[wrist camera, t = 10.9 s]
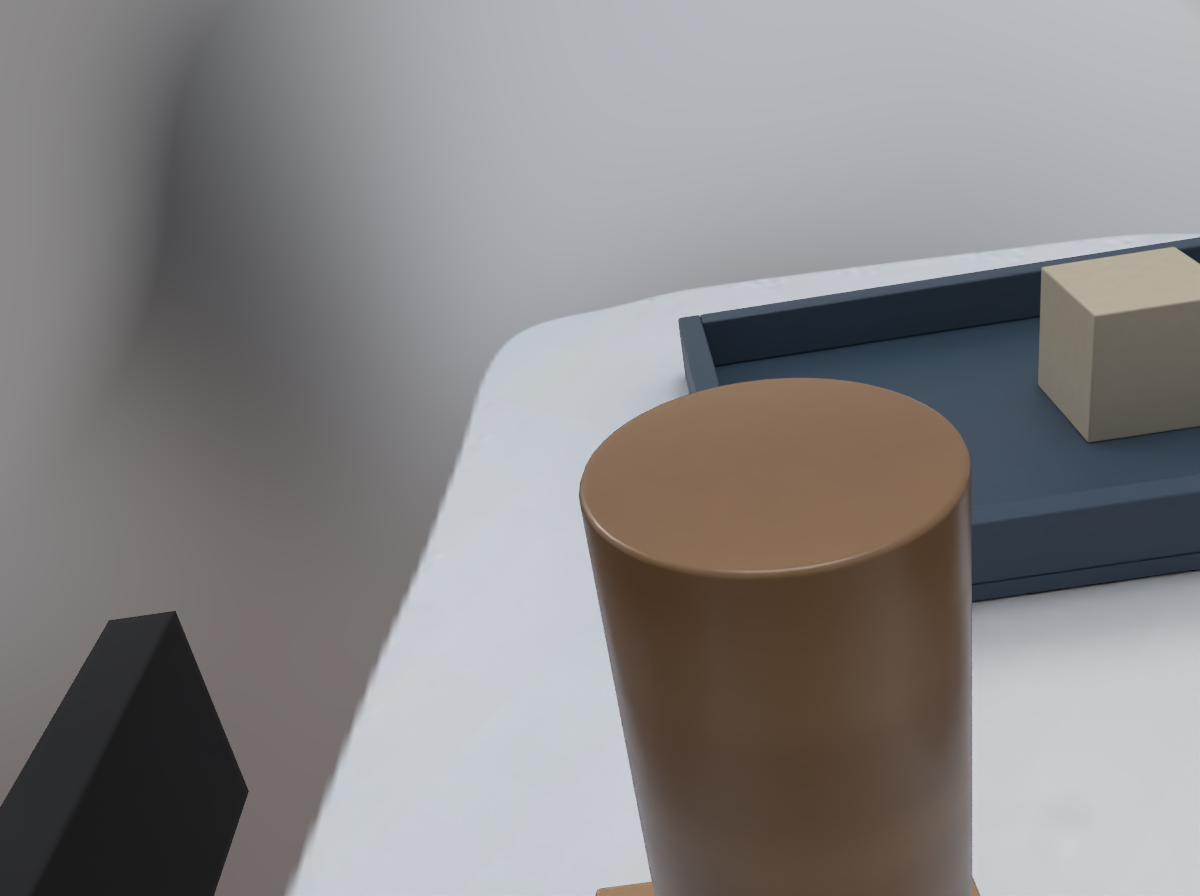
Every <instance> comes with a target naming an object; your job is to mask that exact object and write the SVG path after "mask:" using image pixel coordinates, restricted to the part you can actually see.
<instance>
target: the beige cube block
mask: <svg viewBox="0 0 1200 896" xmlns="http://www.w3.org/2000/svg"><path fill="white" fill-rule="evenodd" d="M1038 385H1039V386H1040V388H1041V389H1042V390H1043V391H1044V392H1045V393H1046V394H1047V396H1048V397H1049V398H1050V399H1051V400H1052V401H1053V403H1054V404H1055V405H1056V406H1057V407H1058V408H1059V409H1060V411H1061V412H1062V413H1063V414H1064V415H1065V416H1066V418H1067V419H1068V420H1069V421H1070V422H1071V423H1072V424H1073V426H1074V427H1075V428H1076V429H1077V430H1078V431H1079V433H1080V434H1081V435H1082V436H1083V437H1084V438H1085V439H1086V441H1087V442H1089V443H1091V442H1098V441H1105V440H1111V439H1118V438H1125V437H1132V436H1139V435H1145V434H1152V433H1159V432H1166V431H1172V430H1179V429H1186V428H1193V427H1199V426H1200V264H1199V263H1198V262H1196V261H1195V260H1193V259H1192V258H1190V257H1189V256H1187V255H1186V254H1184V253H1183V252H1181V251H1180V250H1178V249H1177V248H1175V247H1169V248H1162V249H1156V250H1150V251H1143V252H1137V253H1130V254H1124V255H1117V256H1111V257H1104V258H1098V259H1091V260H1085V261H1079V262H1072V263H1066V264H1059V265H1053V266H1046V267H1042V269H1041V301H1040V335H1039V369H1038Z"/></svg>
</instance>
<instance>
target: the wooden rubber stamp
mask: <svg viewBox="0 0 1200 896" xmlns="http://www.w3.org/2000/svg"><path fill="white" fill-rule="evenodd" d="M579 498H580V505H581V511H582V516H583V521H584V526H585V532H586V537H587V542H588V547H589V553H590V558H591V563H592V569H593V574H594V579H595V584H596V590H597V595H598V600H599V605H600V611H601V616H602V621H603V626H604V632H605V637H606V642H607V648H608V653H609V658H610V663H611V669H612V674H613V679H614V684H615V690H616V695H617V700H618V705H619V711H620V716H621V721H622V727H623V732H624V737H625V742H626V748H627V753H628V758H629V763H630V769H631V774H632V779H633V785H634V790H635V795H636V800H637V806H638V811H639V816H640V821H641V827H642V832H643V837H644V842H645V848H646V853H647V858H648V864H649V869H650V874H651V879H652V882H647V883H639V884H632V885H624V886H617V887H609V888H602V889H599V890H597V892H596V896H980V894H979V892H978V889H977V887H976V884H975V882H974V879H973V877H972V463H971V459H970V454H969V450H968V448H967V446H966V444H965V442H964V441H963V439H962V437H961V435H960V433H959V432H958V431H957V430H956V428H955V427H954V426H953V425H952V424H951V423H950V422H949V421H948V420H947V419H946V418H945V417H943V416H942V415H941V414H940V413H938V412H937V411H935V410H934V409H932V408H930V407H929V406H927V405H926V404H924V403H922V402H919V401H917V400H915V399H913V398H911V397H909V396H906V395H903V394H900V393H898V392H895V391H892V390H888V389H885V388H881V387H877V386H873V385H868V384H863V383H857V382H852V381H843V380H834V379H820V378H780V379H765V380H757V381H748V382H741V383H735V384H730V385H724V386H719V387H715V388H711V389H707V390H703V391H699V392H696V393H693V394H689V395H686V396H683V397H680V398H677V399H675V400H672V401H669V402H667V403H664V404H662V405H660V406H657V407H655V408H653V409H651V410H649V411H647V412H645V413H643V414H641V415H639V416H638V417H636V418H634V419H632V420H631V421H629V422H627V423H626V424H625V425H623V426H622V427H620V428H619V429H618V430H616V431H615V432H614V433H613V434H611V435H610V436H609V437H608V438H607V439H606V440H605V441H604V442H603V443H602V444H601V445H600V446H599V447H598V448H597V450H596V451H595V452H594V453H593V455H592V456H591V458H590V460H589V461H588V463H587V465H586V467H585V470H584V473H583V475H582V478H581V482H580V491H579Z"/></svg>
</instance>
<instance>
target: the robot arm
mask: <svg viewBox="0 0 1200 896" xmlns="http://www.w3.org/2000/svg"><path fill="white" fill-rule="evenodd" d="M248 792H249V791H248V788H247V786H246V784H245V781H244V779H243V776H242V774H241V771H240V769H239V767H238V764H237V761H236V759H235V757H234V754H233V751H232V749H231V747H230V744H229V742H228V739H227V737H226V734H225V732H224V729H223V727H222V725H221V722H220V720H219V717H218V715H217V712H216V710H215V708H214V705H213V702H212V700H211V697H210V695H209V693H208V690H207V687H206V685H205V683H204V680H203V678H202V675H201V673H200V670H199V668H198V665H197V663H196V660H195V658H194V655H193V653H192V651H191V648H190V646H189V643H188V641H187V638H186V636H185V633H184V631H183V628H182V626H181V624H180V621H179V619H178V616H177V614H176V611H172V612H165V613H158V614H151V615H144V616H138V617H130V618H123V619H116V620H110V621H108V623H107V625H106V627H105V629H104V630H103V632H102V634H101V635H100V637H99V639H98V640H97V642H96V644H95V646H94V647H93V649H92V651H91V652H90V654H89V656H88V658H87V659H86V661H85V663H84V665H83V666H82V668H81V670H80V671H79V673H78V675H77V676H76V678H75V680H74V682H73V683H72V685H71V687H70V689H69V690H68V692H67V694H66V695H65V697H64V699H63V701H62V702H61V704H60V706H59V707H58V709H57V711H56V713H55V714H54V716H53V718H52V720H51V721H50V723H49V725H48V726H47V728H46V730H45V731H44V733H43V735H42V737H41V738H40V740H39V742H38V743H37V745H36V747H35V749H34V750H33V752H32V754H31V755H30V757H29V759H28V761H27V762H26V764H25V766H24V768H23V769H22V771H21V773H20V774H19V776H18V778H17V780H16V781H15V783H14V785H13V787H12V788H11V790H10V792H9V793H8V795H7V797H6V798H5V800H4V802H3V804H2V805H1V807H0V896H214V894H215V891H216V887H217V884H218V882H219V879H220V876H221V873H222V870H223V866H224V864H225V861H226V858H227V855H228V852H229V849H230V846H231V843H232V839H233V836H234V834H235V831H236V828H237V825H238V822H239V818H240V816H241V813H242V810H243V806H244V804H245V801H246V798H247V795H248Z"/></svg>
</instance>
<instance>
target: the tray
mask: <svg viewBox="0 0 1200 896" xmlns="http://www.w3.org/2000/svg"><path fill="white" fill-rule="evenodd" d="M1169 247H1175V248H1177V249H1178V250H1180V251H1181V252H1183V253H1184V254H1186V255H1187V256H1189V257H1190V258H1192V259H1193V260H1195V261H1196V262H1198V263H1199V264H1200V238H1193V239H1187V240H1180V241H1174V242H1167V243H1161V244H1155V245H1148V246H1142V247H1135V248H1129V249H1122V250H1116V251H1109V252H1103V253H1097V254H1090V255H1084V256H1077V257H1071V258H1064V259H1058V260H1052V261H1045V262H1039V263H1032V264H1026V265H1019V266H1013V267H1006V268H1000V269H994V270H987V271H981V272H974V273H968V274H961V275H955V276H948V277H942V278H936V279H929V280H923V281H916V282H910V283H903V284H897V285H890V286H884V287H878V288H871V289H865V290H858V291H852V292H845V293H839V294H832V295H826V296H820V297H813V298H807V299H800V300H794V301H787V302H781V303H774V304H768V305H762V306H755V307H749V308H742V309H736V310H729V311H723V312H717V313H710V314H704V315H701V317H700V316H698V315H697V316H691V317H684V318H680V319H679V320H678V322H679V329H680V337H681V344H682V352H683V360H684V368H685V375H686V379H687V384H688V388H689V392H690V394H693V393H696V392H699V391H703V390H707V389H711V388H715V387H719V386H724V385H730V384H735V383H741V382H748V381H757V380H765V379H780V378H820V379H834V380H843V381H852V382H857V383H863V384H868V385H873V386H877V387H881V388H885V389H888V390H892V391H895V392H898V393H900V394H903V395H906V396H909V397H911V398H913V399H915V400H917V401H919V402H922V403H924V404H926V405H927V406H929V407H930V408H932V409H934V410H935V411H937V412H938V413H940V414H941V415H942V416H943V417H945V418H946V419H947V420H948V421H949V422H950V423H951V424H952V425H953V426H954V427H955V428H956V430H957V431H958V432H959V433H960V435H961V437H962V439H963V441H964V442H965V444H966V446H967V448H968V450H969V454H970V459H971V463H972V601H977V600H984V599H991V598H998V597H1005V596H1012V595H1019V594H1026V593H1034V592H1041V591H1048V590H1055V589H1062V588H1069V587H1076V586H1083V585H1090V584H1097V583H1104V582H1111V581H1118V580H1125V579H1132V578H1139V577H1146V576H1153V575H1160V574H1167V573H1174V572H1181V571H1188V570H1195V569H1200V426H1199V427H1193V428H1186V429H1179V430H1172V431H1166V432H1159V433H1152V434H1145V435H1139V436H1132V437H1125V438H1118V439H1111V440H1105V441H1098V442H1091V443H1089V442H1087V441H1086V439H1085V438H1084V437H1083V436H1082V435H1081V434H1080V433H1079V431H1078V430H1077V429H1076V428H1075V427H1074V426H1073V424H1072V423H1071V422H1070V421H1069V420H1068V419H1067V418H1066V416H1065V415H1064V414H1063V413H1062V412H1061V411H1060V409H1059V408H1058V407H1057V406H1056V405H1055V404H1054V403H1053V401H1052V400H1051V399H1050V398H1049V397H1048V396H1047V394H1046V393H1045V392H1044V391H1043V390H1042V389H1041V388H1040V386H1039V385H1038V369H1039V335H1040V301H1041V269H1042V267H1046V266H1053V265H1059V264H1066V263H1072V262H1079V261H1085V260H1091V259H1098V258H1104V257H1111V256H1117V255H1124V254H1130V253H1137V252H1143V251H1150V250H1156V249H1162V248H1169Z"/></svg>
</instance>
